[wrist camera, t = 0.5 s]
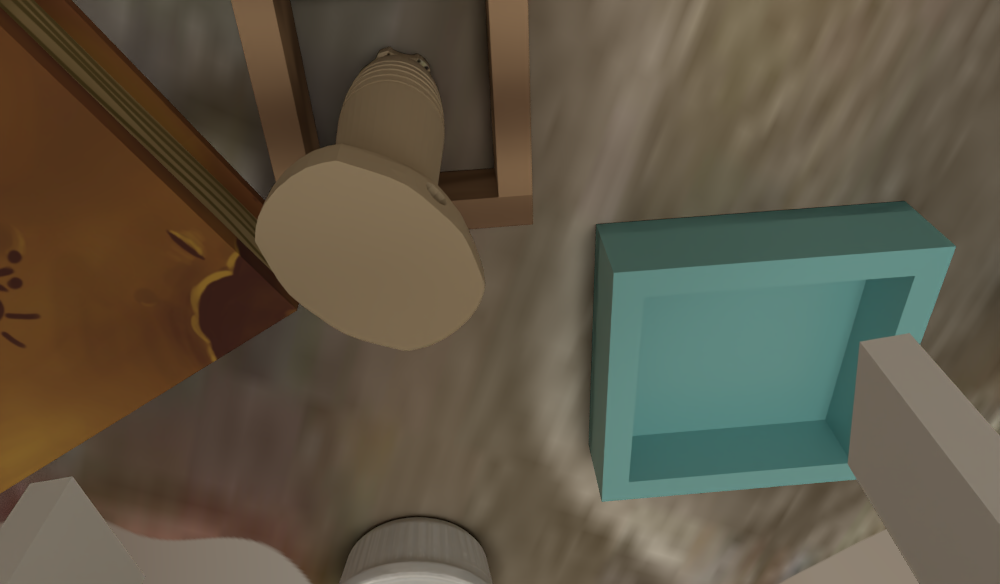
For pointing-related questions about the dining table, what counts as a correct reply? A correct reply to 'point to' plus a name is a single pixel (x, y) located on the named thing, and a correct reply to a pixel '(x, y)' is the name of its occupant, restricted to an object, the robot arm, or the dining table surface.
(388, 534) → the ramekin
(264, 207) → the handle
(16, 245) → the diary
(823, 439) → the parts tray
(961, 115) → the dining table surface
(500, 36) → the socket
